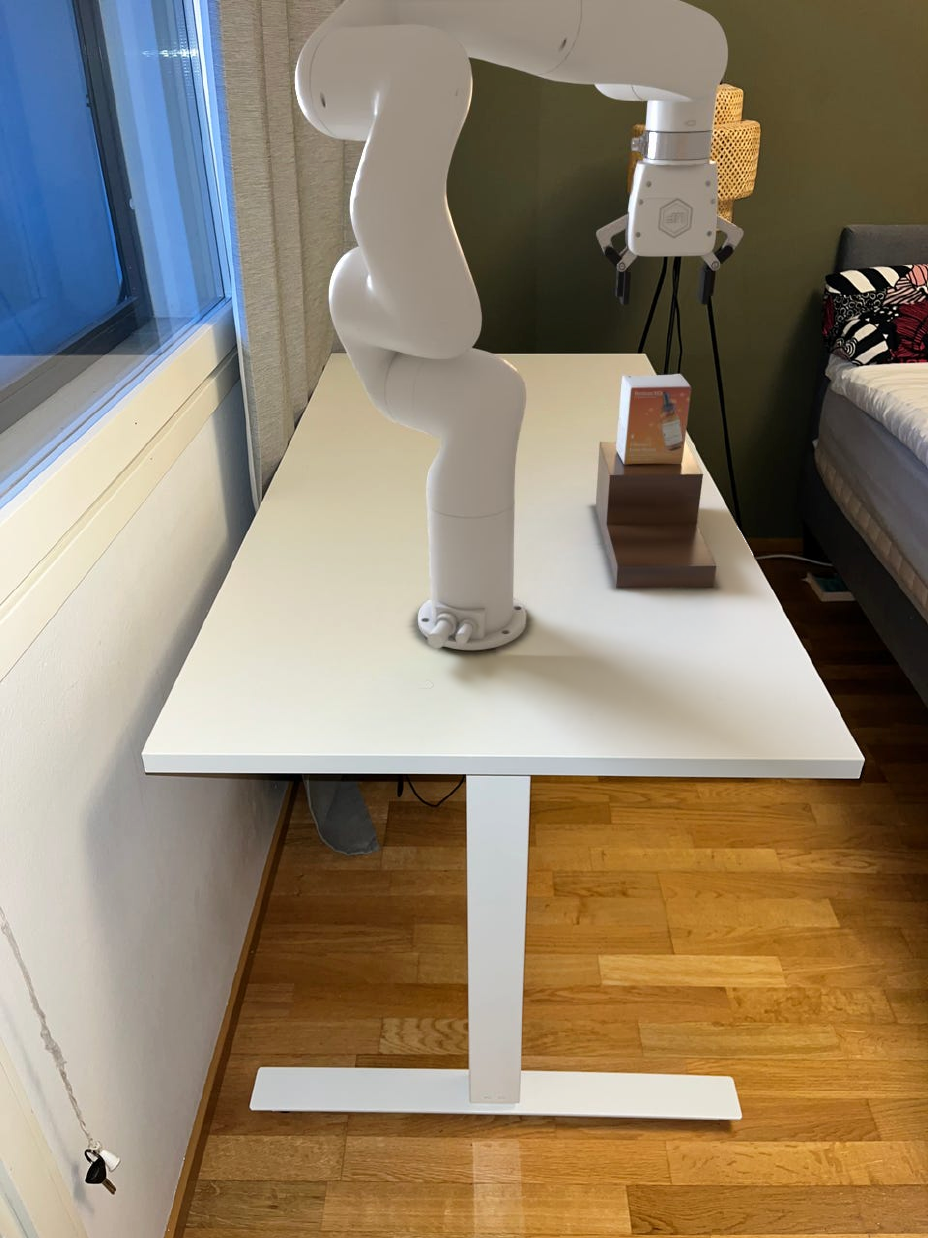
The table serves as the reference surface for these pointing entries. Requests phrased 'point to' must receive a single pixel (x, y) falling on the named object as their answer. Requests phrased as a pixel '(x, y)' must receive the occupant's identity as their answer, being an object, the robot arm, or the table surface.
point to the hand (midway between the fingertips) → (663, 302)
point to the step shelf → (652, 522)
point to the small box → (653, 419)
